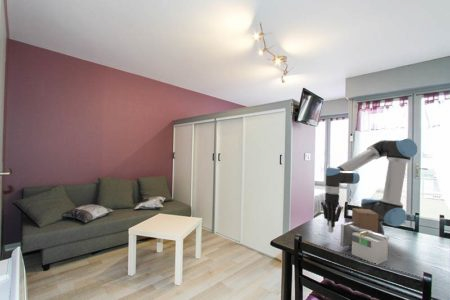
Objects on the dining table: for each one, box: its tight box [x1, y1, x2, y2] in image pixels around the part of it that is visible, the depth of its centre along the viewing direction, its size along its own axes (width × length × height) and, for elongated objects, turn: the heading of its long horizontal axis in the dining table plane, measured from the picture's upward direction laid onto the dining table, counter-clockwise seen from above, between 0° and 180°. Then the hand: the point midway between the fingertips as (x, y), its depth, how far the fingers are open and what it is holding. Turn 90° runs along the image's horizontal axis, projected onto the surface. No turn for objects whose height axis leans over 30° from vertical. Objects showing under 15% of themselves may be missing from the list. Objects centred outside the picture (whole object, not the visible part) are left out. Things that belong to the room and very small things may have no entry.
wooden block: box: [351, 207, 378, 233], centre depth 122 cm, size 10×10×20 cm
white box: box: [351, 231, 389, 265], centre depth 108 cm, size 10×12×11 cm
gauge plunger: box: [339, 221, 390, 248], centre depth 109 cm, size 13×20×12 cm, turn 30°
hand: (330, 231), depth 126 cm, fingers closed
